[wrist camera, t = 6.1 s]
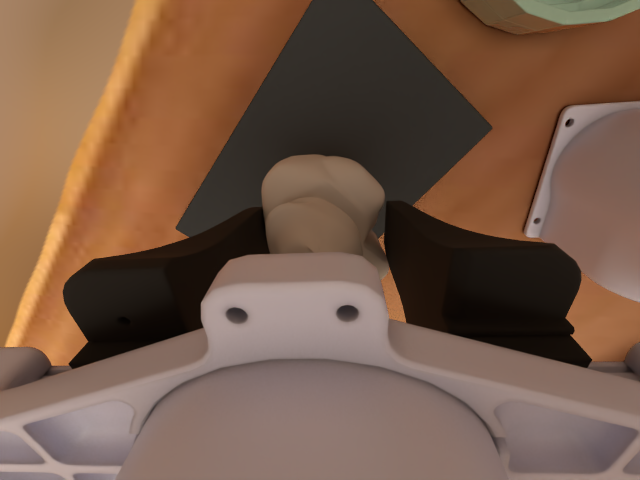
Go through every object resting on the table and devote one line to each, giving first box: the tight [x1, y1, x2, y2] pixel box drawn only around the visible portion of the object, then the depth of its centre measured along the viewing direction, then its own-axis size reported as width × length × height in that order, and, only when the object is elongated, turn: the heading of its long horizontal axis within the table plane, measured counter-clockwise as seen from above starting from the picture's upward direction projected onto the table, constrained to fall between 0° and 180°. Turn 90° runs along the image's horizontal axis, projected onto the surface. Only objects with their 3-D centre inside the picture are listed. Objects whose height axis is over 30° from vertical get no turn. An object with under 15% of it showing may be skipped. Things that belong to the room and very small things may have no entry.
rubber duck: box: [261, 154, 389, 280], centre depth 11 cm, size 5×7×8 cm
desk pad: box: [176, 0, 492, 238], centre depth 22 cm, size 20×13×1 cm, turn 142°
